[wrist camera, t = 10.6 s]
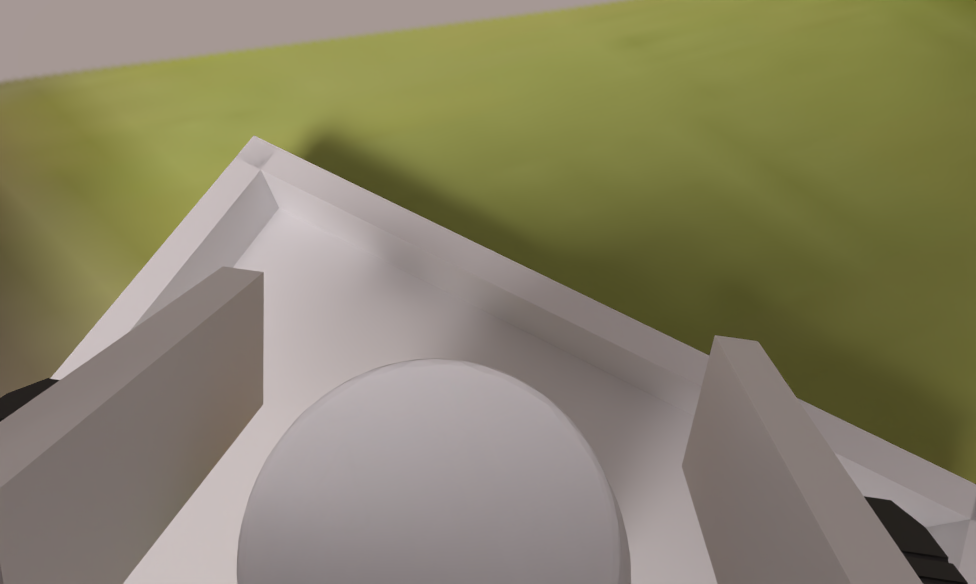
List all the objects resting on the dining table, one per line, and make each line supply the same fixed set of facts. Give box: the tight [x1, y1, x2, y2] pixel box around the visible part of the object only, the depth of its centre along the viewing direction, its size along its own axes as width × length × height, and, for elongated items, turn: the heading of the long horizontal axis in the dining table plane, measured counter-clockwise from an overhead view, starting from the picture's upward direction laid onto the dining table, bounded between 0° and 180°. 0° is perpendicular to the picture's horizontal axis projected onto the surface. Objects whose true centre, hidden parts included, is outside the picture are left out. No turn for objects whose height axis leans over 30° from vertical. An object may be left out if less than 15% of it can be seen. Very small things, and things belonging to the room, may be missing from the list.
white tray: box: [50, 136, 976, 584], centre depth 15 cm, size 20×14×2 cm
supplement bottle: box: [237, 358, 631, 584], centre depth 12 cm, size 5×5×10 cm
